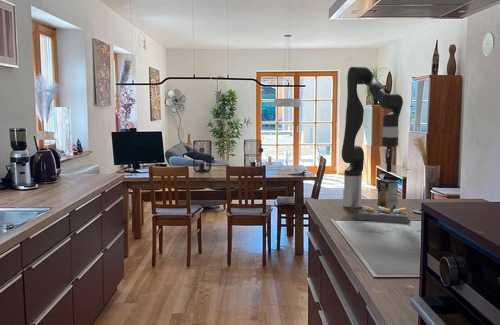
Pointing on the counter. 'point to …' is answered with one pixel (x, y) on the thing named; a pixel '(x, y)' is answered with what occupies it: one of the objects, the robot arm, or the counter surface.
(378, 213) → the power strip
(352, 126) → the robot arm
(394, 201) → the coffee box
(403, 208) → the right rocker
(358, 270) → the counter surface
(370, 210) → the left rocker
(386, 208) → the middle rocker
